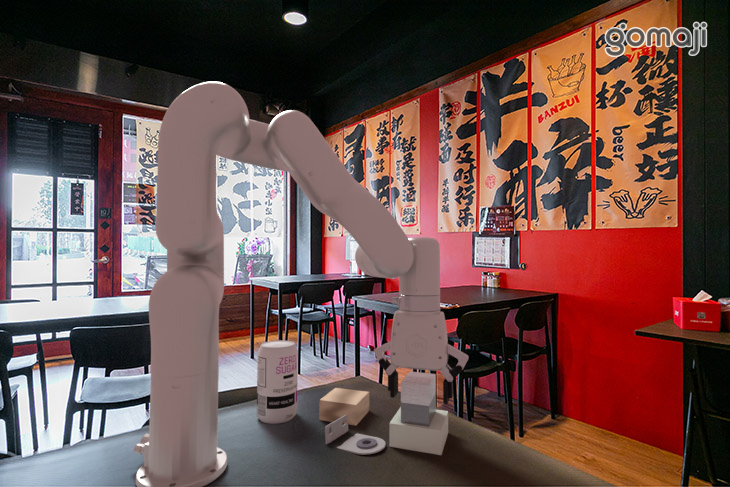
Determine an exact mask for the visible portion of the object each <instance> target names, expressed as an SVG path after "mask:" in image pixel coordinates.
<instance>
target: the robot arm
mask: <svg viewBox="0 0 730 487" xmlns="http://www.w3.org/2000/svg"><path fill="white" fill-rule="evenodd" d="M249 113H250V112H249V110H248V106H247V104H246V102H245V100H244V98H243V97H242V96H241V94H240V93H239V92H238V91H237V90H236V89H235V88H233V87H232V86H230V85H229V84H227V83H223V82H221V81H206V82H200V83H198V84H195V85H193V86H191V87H189V88H188V89H186V90H184V91H183V92H181V93H180V94H179V95H178V96H177V97H176V98H175V99H174V100H173V101H172V102H171V104H170V105H169V106H168V108H167V110H166V112H165V114H164V116H163V118H162V121H161V125H160V128H159V134H158V144H157V146H158V147H157V176H156V177H157V178H156V211H155V212H156V213H155V233H156V237H157V239H158V241H159V243H160V244H161V246H162V247H163V248H164V249H166V269H167V270H166V271H165V272H164V273H163V274H161V276H160V277H158V279H157V280H156V281H155V283H154V285H153V287H152V289H151V291H150V294H149V300H148V320H149V331H150V389H149V390H150V392H149V393H150V394H149V395H150V396H149V397H150V398H149V423H148V424H149V426H148V427H149V429H148V432H149V433H148V432H147V433H145V434H144V435H142V437H141V439H140V442H139V443H138V442H137V443H136V444H135V446H134V447H133V452H134V453H135V454H140V455H143V463H142V465H141V466H140V467H139V468H138V470H137V471H136V474H135V486H136V487H205V486H207V485H209V484H210V483H213V481H215V480H217V479H218V478H220V476H221V475H222V474H223V473H224V471H225V470H226V469H227V466H228V455H227V452H226V451H225V450H223V449H222V448H220V447H219V446H218V426H219V425H218V424H219V423H218V418H219V417H218V416H219V376H220V375H219V372H220V371H219V370H220V369H219V366H220V363H219V360H220V359H219V358H220V357H219V356H220V354H219V353H220V351H219V350H220V347H219V346H220V345H219V344H220V342H219V341H220V332H219V331H220V327H219V326H220V325H219V323H220V322H219V320H220V319H219V318H220V305H221V302H222V300H223V297H224V292H225V249H224V248H225V242H224V241H225V236H224V235H225V234H224V226H223V222H222V219H221V217H220V216H219V214H218V209H217V207H218V206H217V156H218V157H221V158H224V159H227V160H230V161H235V162H239V163H243V164H248V165H253V166H256V167H261V168H264V169H270V170H275V171H282V172H288V174H290V176H291V177H292V179H293V180H294V182H295V183H296V184H297V185H298V186H299V188H300V189H301V191H302V192H303V194H304V195H305V197H307V199H308V201H309V202H310V203H311V204H312V206H313V207H315V209H316V210H318V211H319V212H320V213H322V214H324V215H325V216H327V217H328V218H331V219H332V220H335V221H336V222H337V223H338V224H339V225H341V226H342V227H343V228H344V229H345V230H346V231H347V233H348V234H349V235H350V237H352V238H353V239H354V241H355V243H357V244H358V246H357V247H356V251H355V254H354V255H355V257H354V259H355V264H356V265H357V266H356V267H358V269H359V270H360V271H361V272H362V273H364V274H365V275H366V276H367V275H368V276H370V277H374V278H383V279H397V278H398V293H399V294H397V296H395V297H394V296H392V297H391V304H392V305H395V306H397V308H398V310H396V311H394V314H393V317H392V318H393V319H392V325H391V335H390V341H388V342H386V343H383V344H382V345H379V346H378V347H376V348H374V349H373V352H374V355H375V357H376V359H377V361H378V364H379V365H380V367H381V368H382V369H383V370H384V372H385V374H386V375H387V391H388V392H390V394H389V396H390V398H392V399H394V398H395V397H396V396H397V394H398V393H399V372H398V371H397V369H398V368H401V369H411V370H418V371H419V370H422V371H430V372H431V371H432V372H439V373H441V375H442V376H443V378H444V380H443V382H442V388H443V390H442V391H443V392H442V401H443V402H442V403H443V404H444V405H448V404H449V402H450V399H453V397H454V379H455V378H456V377H458V376H459V375H460V374H461V373H462V371H463V370H464V368H465V366H466V365H467V362H468V361H469V355H468V354H466V353H465V352H463V351H461V350H460V349H458V348H456V347H454V346H453V345H451V344H449V342H448V340H449V339H448V330H447V323H446V322H447V321H446V317H445V313H444V311H441V246H440V243H439V241H438V240H437V239H436V238H433V237H425V236H423V237H421V236H419V237H415V236H413V237H408V235H407V234H406V233H405V232H404V230H403V229H402V227H401V226H400V224H399V223H398V221H397V220H396V218H394V216H393V214H392V213H391V212H390V211H389V209H387V207H386V206H385V205H384V204H383V203H382V202H381V201H380V200H379V199H378V198H377V197H376V196H374V195H373V194H372V193H371V192H370V191H369V190H367V189H366V187H365V186H363V185H362V184H361V183H359V181H357V180H356V179H355V178H354V176H352V174H351V173H350V172H349V170H348V169H347V168H346V165H345V164H344V163H343V162H342V160H341V159H340V158H339V157H338V155H337V154H336V152H335V151H334V150H333V148H332V147H331V145H330V144H329V143H328V141H327V140H326V138H325V137H324V136H323V134H322V133H321V132H320V130H319V128H318V127H317V126H316V125H315V124H314V122H313V121H312V119H311V118H310V117H309V116H308V115H306V114H305V113H304V112H301V111H299V110H295V109H293V110H292V109H289V110H285V111H282V112H281V113H279V114H277V115H276V116H275V117H274V118H273V119H272V120H271V122H270V123H265V122H262V121H258V120H254V119H250V114H249ZM388 351H389V357H390V358H389V359H388V358H387V357H386V355H385V352H388ZM449 356H452V357H454V358H456V359H457V361H458V362H457V364H456V365H455V366H454V367H452V368H451V366H450V365H449V364H448V361H449ZM389 360H390V361H389Z"/></svg>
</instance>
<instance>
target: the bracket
mask: <svg viewBox="0 0 730 487" xmlns="http://www.w3.org/2000/svg"><path fill="white" fill-rule="evenodd" d="M344 420H345V424H343V423H342V422H343V421H344ZM347 432H349V424H348V417H347V415H344V416H342V417H341V418H339V419H337V420H335V421H334V422H330V423H329V424H327V425H325V427H324V435H325V436H324V437H325V440H324V441H325V445H328V444H330V443H332V442H333V441H335V440H337V439H338V438H340V437H341V436H342V435H345V434H346V433H347ZM385 448H386V441H385V440H384V439H383V438H380V437H378V436H372V435H367V434H363V433H358V432H356V433H355V434H354V435H353V436H350V437H349V438H348V439H346V440H345V441H344V442H342V444H341V445H338V446H336V449H339V450H342V451H345V452H347V453H351V454H355V455H372V454H376V453H380V452H381V451H383V450H384V449H385Z"/></svg>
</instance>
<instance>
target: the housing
mask: <svg viewBox="0 0 730 487" xmlns="http://www.w3.org/2000/svg"><path fill="white" fill-rule="evenodd" d="M436 382H437V381H436V373H429V372H417V371H409V372H408V373H407V374H406V375H405V376H404V377H403V379H402V380H401V381H400V407H401V423H407V424H414V425H421V426H427V427H429V426H430V424H431V422H432V419H433V417H434V415H435V412H436V410H437V408H436V405H437V400H436V398H437V397H436V396H437V395H436V393H437V392H436V390H437V389H436V388H437V386H436Z"/></svg>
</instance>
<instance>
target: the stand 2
mask: <svg viewBox="0 0 730 487" xmlns="http://www.w3.org/2000/svg"><path fill="white" fill-rule="evenodd" d="M388 430H389V431H388V432H389V433H388V434H389V439H388V441H389V444H388V446H389V447H390V448H396V449H402V450H407V451H412V452H419V453H426V454H432V455H437V456H442V455H443V451H444V447H445V445H446V443H447V442H446V441H447V439H448V435H449V411H448V410H444V409H443V410H442V409H436V412H435V415H434V417H433V419H432V422H431V424H430V426H429V427H427V426H421V425H414V424H407V423H401V406H400V407H399V408H398V410H397V412H396V413H395V414H394V416H393V417H392V419H391V420H390V422H389V429H388Z"/></svg>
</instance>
